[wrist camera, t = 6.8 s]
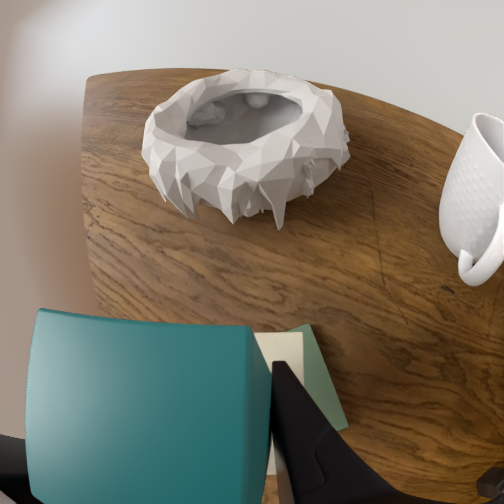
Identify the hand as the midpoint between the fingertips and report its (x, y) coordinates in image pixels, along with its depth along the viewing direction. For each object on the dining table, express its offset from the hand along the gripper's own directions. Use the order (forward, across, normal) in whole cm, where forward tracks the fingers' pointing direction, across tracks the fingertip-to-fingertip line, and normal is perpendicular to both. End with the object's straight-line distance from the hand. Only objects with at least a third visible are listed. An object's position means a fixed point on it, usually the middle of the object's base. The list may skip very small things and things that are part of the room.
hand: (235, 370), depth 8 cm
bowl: (+24, +2, -6) cm, 25 cm away
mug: (+18, -22, +1) cm, 28 cm away
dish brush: (+4, 0, +6) cm, 7 cm away
